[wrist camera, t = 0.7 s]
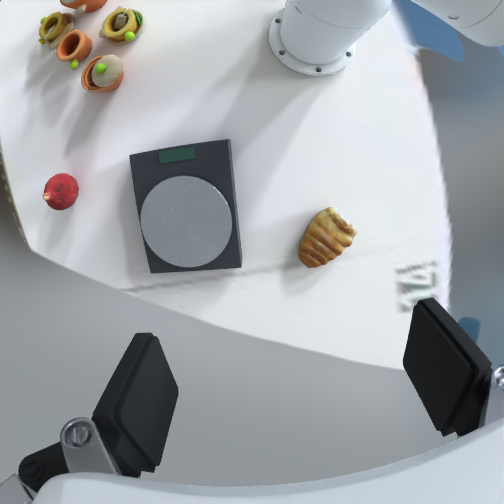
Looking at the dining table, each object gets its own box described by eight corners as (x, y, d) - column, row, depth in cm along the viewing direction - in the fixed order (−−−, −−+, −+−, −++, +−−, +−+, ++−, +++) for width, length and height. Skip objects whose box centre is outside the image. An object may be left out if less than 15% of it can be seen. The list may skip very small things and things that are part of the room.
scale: (137, 154, 38) (128, 155, 35) (230, 139, 38) (227, 139, 35) (156, 265, 45) (150, 274, 42) (242, 259, 44) (241, 268, 41)
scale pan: (135, 182, 37) (133, 183, 36) (226, 169, 36) (226, 170, 36) (151, 268, 41) (150, 270, 41) (237, 262, 41) (236, 264, 40)
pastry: (318, 272, 45) (323, 283, 41) (285, 247, 43) (288, 257, 40) (357, 227, 42) (365, 235, 38) (325, 199, 41) (332, 205, 37)
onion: (81, 165, 39) (52, 172, 31) (91, 198, 41) (63, 210, 33) (57, 177, 39) (28, 185, 32) (66, 208, 41) (39, 221, 34)
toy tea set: (40, 36, 29) (8, 27, 20) (97, -25, 25) (72, -45, 16) (106, 111, 36) (71, 107, 27) (179, 39, 32) (159, 15, 23)
